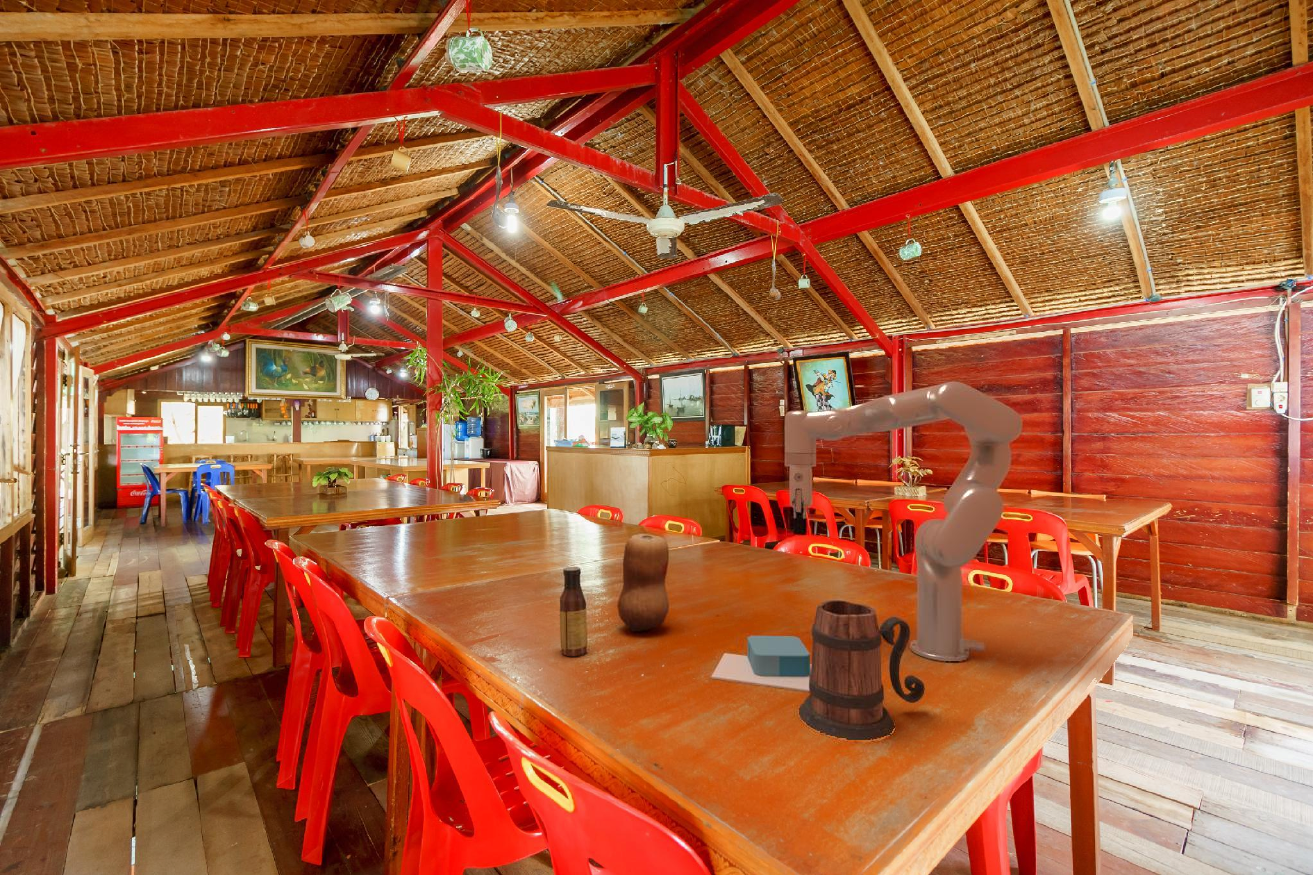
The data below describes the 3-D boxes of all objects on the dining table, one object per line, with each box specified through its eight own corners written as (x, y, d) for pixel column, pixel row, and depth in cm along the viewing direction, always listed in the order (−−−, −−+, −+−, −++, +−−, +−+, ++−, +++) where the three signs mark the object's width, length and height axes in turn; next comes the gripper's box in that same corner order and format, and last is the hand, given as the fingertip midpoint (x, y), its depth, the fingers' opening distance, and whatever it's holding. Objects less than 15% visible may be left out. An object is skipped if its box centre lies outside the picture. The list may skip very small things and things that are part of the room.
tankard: (822, 746, 94) (822, 624, 94) (783, 700, 110) (784, 596, 110) (951, 735, 97) (952, 618, 97) (895, 692, 114) (895, 592, 114)
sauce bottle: (592, 650, 135) (592, 566, 136) (577, 659, 130) (578, 572, 130) (569, 646, 138) (569, 564, 138) (553, 654, 132) (554, 569, 133)
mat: (813, 666, 127) (813, 664, 127) (809, 692, 114) (809, 690, 114) (724, 654, 133) (724, 653, 133) (711, 678, 120) (711, 676, 120)
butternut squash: (663, 640, 143) (663, 540, 143) (611, 636, 145) (612, 538, 145) (672, 623, 156) (673, 532, 156) (625, 619, 159) (626, 530, 159)
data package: (746, 654, 132) (754, 676, 120) (746, 635, 132) (754, 654, 120) (798, 655, 132) (811, 676, 120) (798, 635, 132) (811, 655, 120)
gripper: (814, 461, 133) (813, 540, 133) (817, 459, 147) (817, 530, 147) (781, 461, 135) (781, 538, 135) (787, 459, 149) (787, 529, 149)
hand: (799, 534), depth 141 cm, fingers closed
